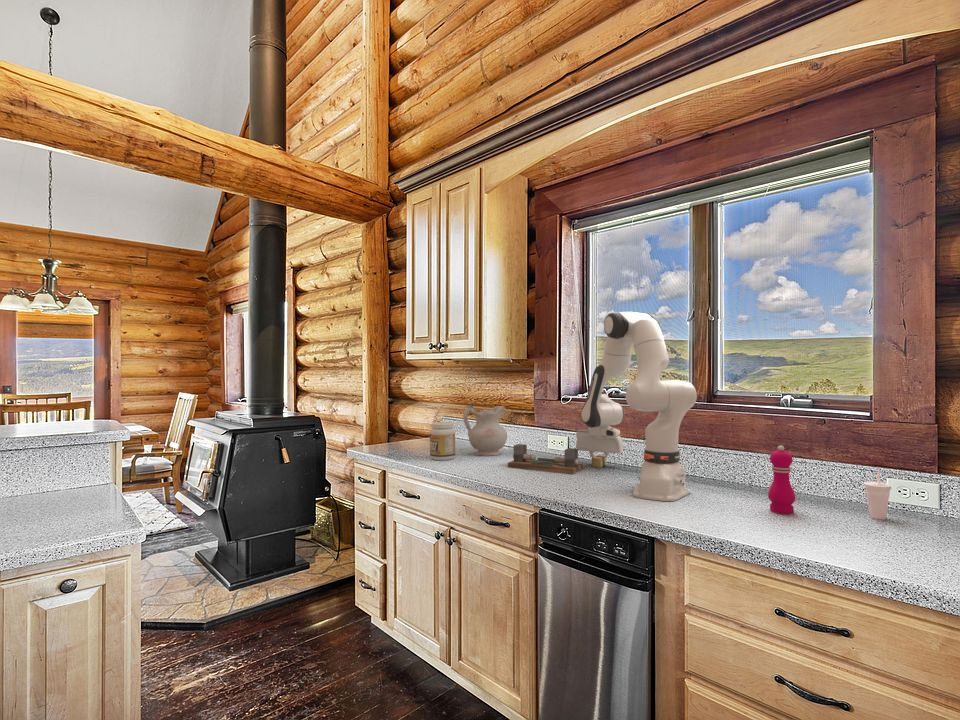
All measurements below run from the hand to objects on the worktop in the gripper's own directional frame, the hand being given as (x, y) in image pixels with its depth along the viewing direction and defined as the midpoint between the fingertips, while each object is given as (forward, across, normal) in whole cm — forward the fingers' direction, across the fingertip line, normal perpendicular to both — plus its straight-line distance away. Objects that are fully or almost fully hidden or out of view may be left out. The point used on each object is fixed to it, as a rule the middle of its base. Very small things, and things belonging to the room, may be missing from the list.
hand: (599, 462), depth 228 cm
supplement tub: (+2, -71, -18) cm, 73 cm away
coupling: (+2, 0, 0) cm, 2 cm away
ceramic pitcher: (+2, -59, +2) cm, 59 cm away
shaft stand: (+2, -19, -15) cm, 24 cm away
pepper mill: (+2, +70, -39) cm, 80 cm away
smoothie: (+2, +94, -33) cm, 100 cm away
